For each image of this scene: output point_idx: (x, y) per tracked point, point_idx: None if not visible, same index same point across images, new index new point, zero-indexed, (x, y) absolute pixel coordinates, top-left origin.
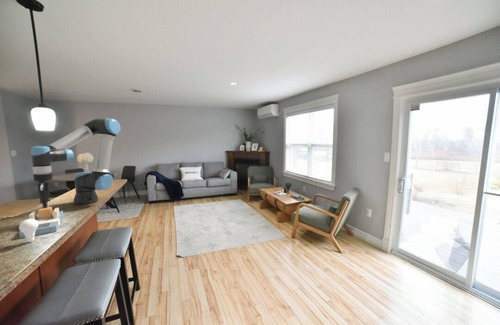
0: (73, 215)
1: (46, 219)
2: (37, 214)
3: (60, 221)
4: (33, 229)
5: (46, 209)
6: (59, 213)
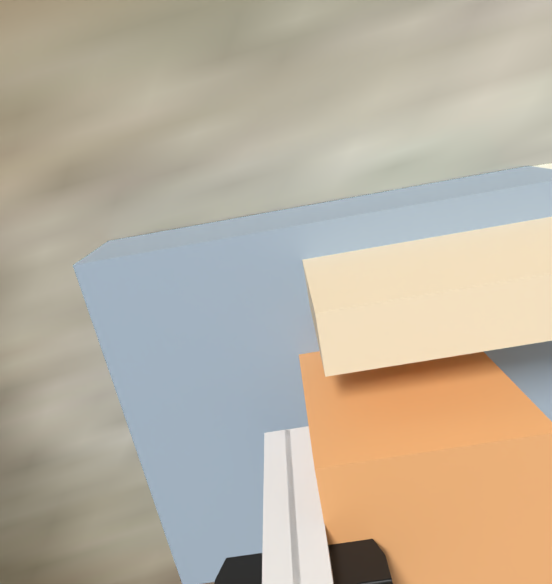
0: (172, 60)
1: (545, 359)
2: (177, 552)
3: (479, 176)
4: None
5: (542, 496)
6: (257, 269)
